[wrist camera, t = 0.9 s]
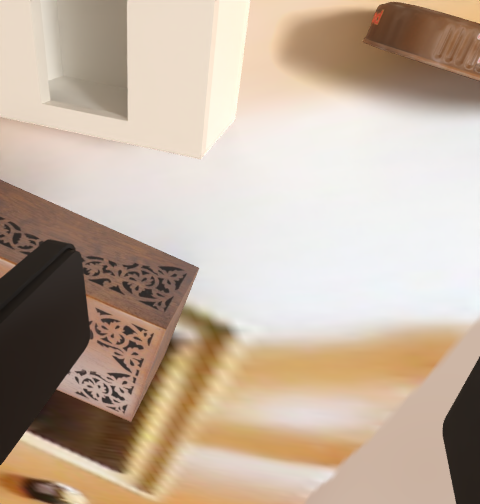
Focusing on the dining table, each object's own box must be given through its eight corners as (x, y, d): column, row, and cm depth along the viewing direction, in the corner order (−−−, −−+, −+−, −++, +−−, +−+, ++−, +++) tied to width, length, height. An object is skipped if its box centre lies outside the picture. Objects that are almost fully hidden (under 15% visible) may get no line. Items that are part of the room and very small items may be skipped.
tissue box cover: (-30, 268, 53) (-100, 321, 45) (-29, 165, 45) (-115, 206, 37) (165, 353, 54) (130, 421, 45) (199, 266, 46) (166, 329, 37)
